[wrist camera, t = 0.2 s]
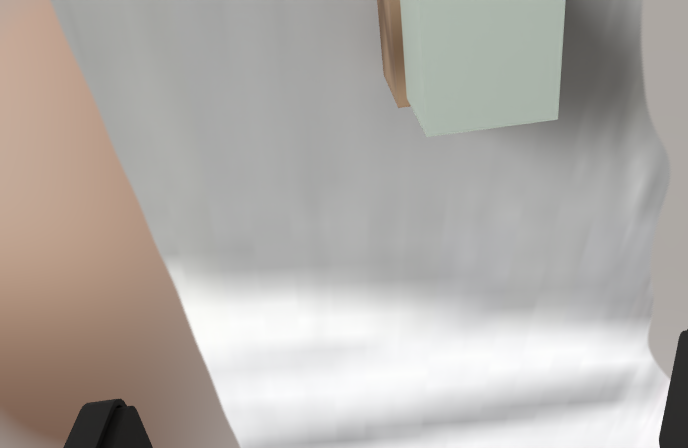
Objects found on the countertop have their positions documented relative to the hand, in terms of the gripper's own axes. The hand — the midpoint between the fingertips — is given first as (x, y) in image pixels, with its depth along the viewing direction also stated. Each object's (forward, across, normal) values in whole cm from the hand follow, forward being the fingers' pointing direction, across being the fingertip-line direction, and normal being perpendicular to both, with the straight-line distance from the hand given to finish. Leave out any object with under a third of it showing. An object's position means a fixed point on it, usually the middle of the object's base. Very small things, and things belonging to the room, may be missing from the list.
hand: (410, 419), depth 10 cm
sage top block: (+24, -6, -1) cm, 24 cm away
